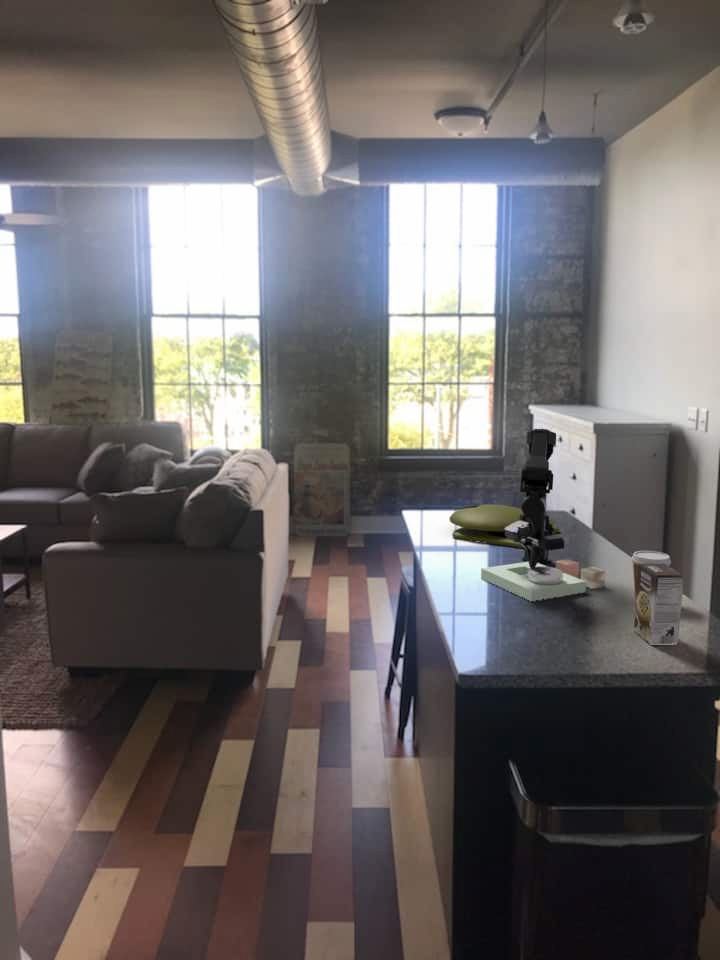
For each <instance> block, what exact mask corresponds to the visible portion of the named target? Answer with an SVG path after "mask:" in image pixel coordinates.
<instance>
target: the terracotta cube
mask: <svg viewBox="0 0 720 960" xmlns="http://www.w3.org/2000/svg"><path fill="white" fill-rule="evenodd" d="M555 568H557V569H560V570H562V571H563V573H565V574H568V575H571V576H573V577H576V578H578V579H580V578H579V577H580V576H579V574H580V562H578V561H574V560H572V559H569V558H566V559H560V560H556V561H555Z"/></svg>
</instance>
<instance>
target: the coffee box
mask: <svg viewBox="0 0 720 960" xmlns="http://www.w3.org/2000/svg"><path fill="white" fill-rule="evenodd" d="M684 578H685V575H684V574H683V573H681V572H679V571H678V570H676V569H674V568H673V567H671V566H667V565H666V564H664V563H663V564H656V563H641V564H638V575H637V591H636V599H635V609H634V625H633V626H634V627H633V632H634V631H635V632H634V633H635V634H636V635H638V634H639V635H640V636H641V637H640V636H639V635H638V636H639V637H640V638H642V639H643V638H644V639H645V640H646V641H648V642H649V643H650V644H672V643H678V644H679V634H680V633H679V632H680V625H681V624H680V623H681V613H682V600H683V589H684ZM644 639H643V640H644ZM645 640H644V641H645ZM646 641H645V642H646ZM649 643H648V644H649ZM650 644H649V645H650Z"/></svg>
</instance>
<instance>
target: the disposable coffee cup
mask: <svg viewBox="0 0 720 960" xmlns="http://www.w3.org/2000/svg"><path fill="white" fill-rule="evenodd" d="M630 559H631V562H632V566H633V567H632V568H633V570H632V571H633V581H634V582H633V583H634V599H635V600H636V591H637V575H638V564H641V563H656V564H663V563H664V564H666V565H667V566H669V567H671V566H670V565H671V563H672V560H671V558H670V555H668V553H664V552H662V551H661V552H660V551H655V550H654V551H653V550H638V551H635V552H634V553H632V556H631V558H630Z"/></svg>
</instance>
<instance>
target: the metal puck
mask: <svg viewBox="0 0 720 960" xmlns="http://www.w3.org/2000/svg"><path fill="white" fill-rule="evenodd" d="M528 581H530V582H532V583H535V584H539V585H558V584H561V583H562V582H563V571H562V570H560V569H557V568H556V567H552V566H547V567H532V568H529V569H528Z"/></svg>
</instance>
